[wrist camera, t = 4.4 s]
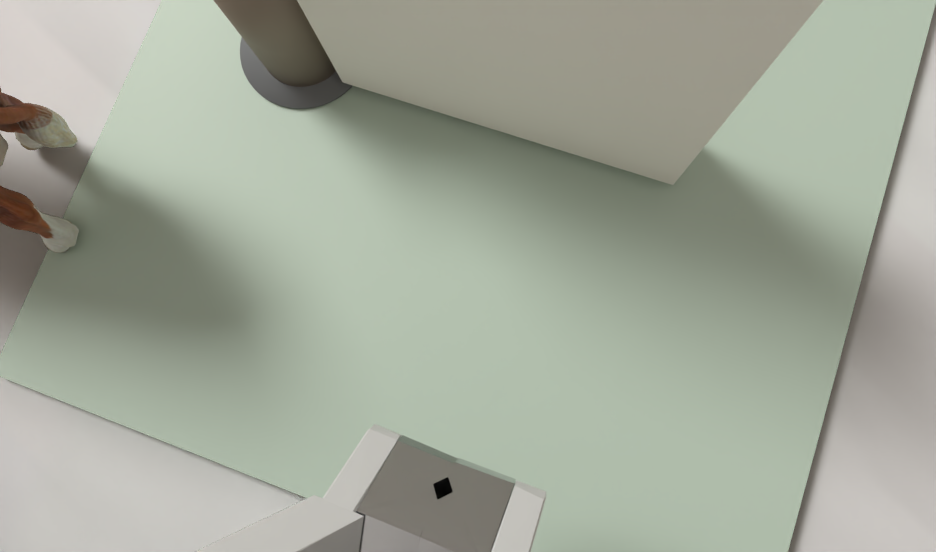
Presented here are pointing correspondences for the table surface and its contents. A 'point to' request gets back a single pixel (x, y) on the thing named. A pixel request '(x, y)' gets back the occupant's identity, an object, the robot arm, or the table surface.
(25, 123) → the bull figurine
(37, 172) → the table surface
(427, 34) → the white rectangular slab
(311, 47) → the fixed rail
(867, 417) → the table surface
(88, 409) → the mat
